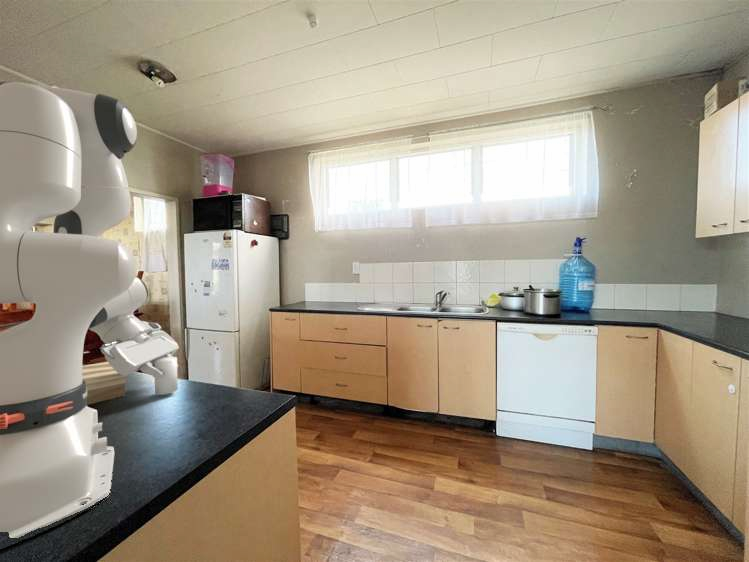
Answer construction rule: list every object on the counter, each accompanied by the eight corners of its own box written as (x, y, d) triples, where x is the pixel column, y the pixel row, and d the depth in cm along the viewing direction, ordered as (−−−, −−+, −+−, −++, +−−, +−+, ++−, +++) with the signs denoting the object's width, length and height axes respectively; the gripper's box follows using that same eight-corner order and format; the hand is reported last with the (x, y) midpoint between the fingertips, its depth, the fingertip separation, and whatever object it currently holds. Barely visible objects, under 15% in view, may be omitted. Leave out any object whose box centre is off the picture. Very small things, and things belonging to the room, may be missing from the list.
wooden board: (127, 395, 81) (127, 376, 81) (50, 413, 70) (50, 392, 70) (111, 376, 95) (110, 361, 95) (45, 390, 84) (44, 372, 84)
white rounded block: (180, 390, 81) (179, 359, 81) (158, 396, 78) (157, 363, 78) (174, 386, 85) (173, 355, 85) (152, 391, 81) (151, 359, 81)
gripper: (106, 336, 70) (152, 377, 71) (161, 322, 90) (196, 354, 91) (86, 356, 70) (132, 396, 71) (145, 337, 90) (180, 369, 91)
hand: (168, 372), depth 81 cm, fingers closed on white rounded block, 5 cm apart
